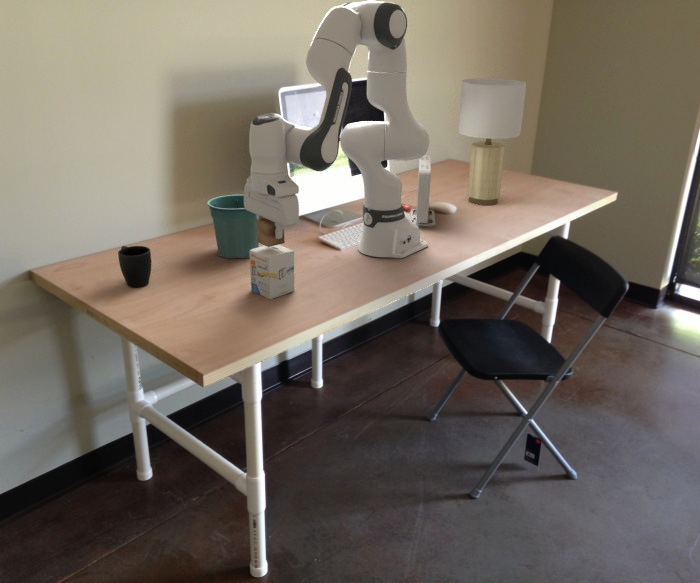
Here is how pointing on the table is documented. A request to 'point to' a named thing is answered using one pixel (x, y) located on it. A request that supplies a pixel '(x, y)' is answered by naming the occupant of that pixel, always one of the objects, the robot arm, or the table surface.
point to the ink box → (272, 271)
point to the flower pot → (233, 226)
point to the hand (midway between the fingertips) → (270, 234)
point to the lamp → (489, 131)
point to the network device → (423, 193)
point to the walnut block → (267, 233)
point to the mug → (135, 265)
